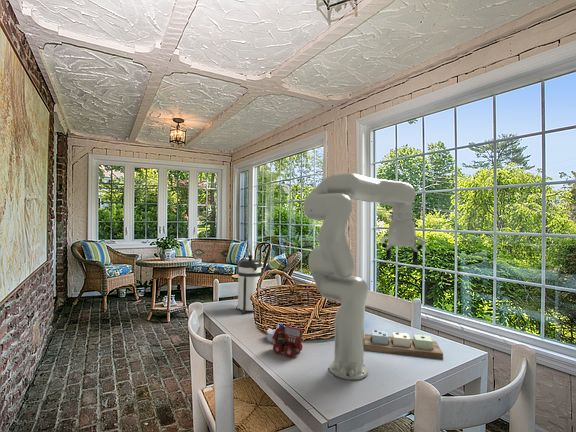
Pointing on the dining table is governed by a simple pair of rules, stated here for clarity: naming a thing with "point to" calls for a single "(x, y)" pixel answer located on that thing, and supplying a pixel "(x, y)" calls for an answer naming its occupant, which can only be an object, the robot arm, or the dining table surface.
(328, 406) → the dining table surface
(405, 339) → the cream drawer
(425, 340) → the pale green drawer
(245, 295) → the coffee press
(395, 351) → the wooden compartment tray
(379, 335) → the pale blue drawer
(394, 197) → the robot arm
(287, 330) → the toy fire truck
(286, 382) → the dining table surface
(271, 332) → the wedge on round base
